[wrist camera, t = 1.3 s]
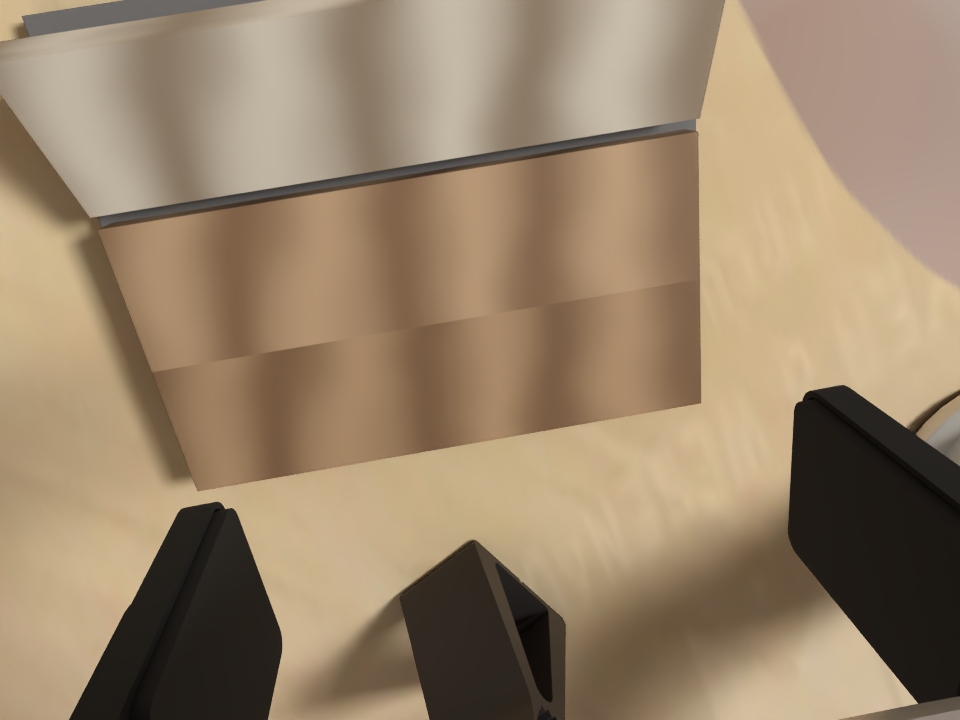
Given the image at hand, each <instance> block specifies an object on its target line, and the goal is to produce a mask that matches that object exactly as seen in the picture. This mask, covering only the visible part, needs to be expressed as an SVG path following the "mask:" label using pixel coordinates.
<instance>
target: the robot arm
mask: <svg viewBox="0 0 960 720" xmlns="http://www.w3.org/2000/svg"><path fill="white" fill-rule="evenodd" d="M788 535H789V540H790V542H791V545H792V547H793V549H794V551H795V552H796V554H797V555H798V556H799V558H800V559H801V560H802V561H803V562H804V564H805V565H806V566H807V567H808V569H809V570H810V571H811V572H812V574H813V575H814V576H815V577H816V578H817V580H818V581H819V582H820V583H821V585H822V586H823V587H824V588H825V590H826V591H827V592H828V593H829V594H830V596H831V597H832V598H833V599H834V601H835V602H836V603H837V604H838V605H839V607H840V608H841V609H842V610H843V612H844V613H845V614H846V615H847V617H848V618H849V619H850V620H851V621H852V623H853V624H854V625H855V626H856V628H857V629H858V630H859V631H860V633H861V634H862V635H863V636H864V637H865V639H866V640H867V641H868V642H869V644H870V645H871V646H872V647H873V648H874V650H875V651H876V652H877V653H878V655H879V656H880V657H881V658H882V660H883V661H884V662H885V663H886V664H887V666H888V667H889V668H890V669H891V671H892V672H893V673H894V674H895V676H896V677H897V678H898V679H899V680H900V682H901V683H902V684H903V685H904V687H905V688H906V689H907V690H908V692H909V693H910V694H911V695H912V696H913V698H914V699H915V700H916V701H917V703H918V704H915V705H910V706H905V707H900V708H895V709H890V710H885V711H880V712H875V713H870V714H865V715H860V716H855V717H850V718H845V719H840V720H960V395H959V396H957V397H956V398H955V399H953V400H952V401H950V402H949V403H947V404H946V405H944V406H943V407H942V408H940V409H939V410H938V411H937V412H936V413H935V414H934V415H933V416H932V417H931V418H930V419H928V420H927V421H926V422H925V423H924V425H923V426H922V427H921V428H920V430H919V431H918V432H917V433H916V434H914V433H912V432H911V431H910V430H908V429H907V428H905V427H904V426H903V425H901V424H900V423H898V422H897V421H896V420H894V419H893V418H891V417H890V416H888V415H887V414H886V413H884V412H883V411H881V410H880V409H879V408H877V407H876V406H874V405H873V404H872V403H870V402H869V401H867V400H866V399H865V398H863V397H862V396H860V395H859V394H857V393H856V392H855V391H853V390H852V389H850V388H849V387H847V386H845V385H839V386H834V387H829V388H823V389H818V390H813V391H808V392H807V393H806V394H805V396H804V398H803V401H801V402H798V403H797V404H796V406H795V410H794V425H793V444H792V463H791V482H790V502H789V521H788ZM281 654H282V636H281V631H280V628H279V625H278V622H277V620H276V617H275V614H274V612H273V609H272V606H271V604H270V601H269V598H268V595H267V593H266V590H265V587H264V585H263V582H262V579H261V577H260V574H259V571H258V569H257V566H256V563H255V561H254V558H253V555H252V552H251V550H250V547H249V544H248V542H247V539H246V536H245V534H244V531H243V528H242V526H241V523H240V520H239V518H238V515H237V513H236V511H235V510H234V509H232V508H230V509H225V508H224V506H223V505H222V504H221V503H219V502H213V503H208V504H203V505H197V506H192V507H187V508H183V509H181V510H180V511H179V512H178V514H177V516H176V518H175V520H174V522H173V524H172V526H171V528H170V530H169V532H168V534H167V536H166V537H165V539H164V541H163V543H162V545H161V547H160V549H159V551H158V553H157V555H156V557H155V559H154V561H153V563H152V565H151V567H150V569H149V571H148V573H147V574H146V576H145V578H144V580H143V582H142V584H141V586H140V588H139V590H138V592H137V594H136V596H135V598H134V600H133V602H132V604H131V605H130V606H129V607H128V609H127V610H126V611H125V613H124V615H123V617H122V619H121V621H120V622H119V624H118V626H117V628H116V630H115V632H114V634H113V636H112V638H111V640H110V642H109V644H108V646H107V648H106V650H105V651H104V653H103V655H102V657H101V659H100V661H99V663H98V665H97V667H96V669H95V671H94V673H93V675H92V677H91V678H90V680H89V682H88V684H87V686H86V688H85V690H84V692H83V694H82V696H81V698H80V700H79V702H78V704H77V706H76V707H75V709H74V711H73V713H72V715H71V717H70V719H69V720H268V716H269V711H270V706H271V701H272V697H273V692H274V687H275V683H276V678H277V673H278V668H279V664H280V659H281Z"/></svg>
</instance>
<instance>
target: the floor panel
mask: <svg viewBox="0 0 960 720" xmlns="http://www.w3.org/2000/svg"><path fill="white" fill-rule="evenodd" d="M259 1H265V0H123V1H117V2H110V3H104V4H97V5H91V6H84V7H78V8H71V9H65V10H58V11H52V12H45V13H39V14H33V15H26V16H22V18H23V21H24V24H25V26H26V29H27V32H28V34H29V37H34V36H40V35H46V34H53V33H59V32H66V31H72V30H79V29H85V28H91V27H98V26H104V25H111V24H117V23H124V22H130V21H136V20H143V19H149V18H156V17H162V16H169V15H175V14H181V13H188V12H194V11H201V10H207V9H214V8H220V7H226V6H233V5H239V4H246V3H252V2H259ZM98 218H99V221H100V224H101V226H102V228H101V229H99V230H98V233H99V235H100V238H101V241H102V243H103V246H104V249H105V251H106V254H107V256H108V259H109V262H110V264H111V267H112V269H113V272H114V275H115V277H116V280H117V282H118V285H119V288H120V290H121V293H122V295H123V298H124V301H125V303H126V306H127V308H128V311H129V314H130V316H131V319H132V322H133V324H134V327H135V329H136V332H137V335H138V337H139V340H140V342H141V345H142V348H143V350H144V353H145V355H146V358H147V361H148V363H149V366H150V368H151V371H152V374H153V376H154V379H155V381H156V384H157V387H158V389H159V392H160V395H161V397H162V400H163V402H164V405H165V408H166V410H167V413H168V415H169V418H170V421H171V423H172V426H173V428H174V431H175V434H176V436H177V439H178V441H179V444H180V447H181V449H182V452H183V454H184V457H185V460H186V462H187V465H188V468H189V470H190V473H191V475H192V478H193V481H194V483H195V486H196V488H197V491H202V490H208V489H214V488H220V487H225V486H231V485H237V484H242V483H248V482H254V481H260V480H265V479H271V478H277V477H282V476H288V475H294V474H300V473H305V472H311V471H317V470H322V469H328V468H334V467H340V466H345V465H351V464H357V463H362V462H368V461H374V460H380V459H385V458H391V457H397V456H402V455H408V454H414V453H420V452H425V451H431V450H437V449H442V448H448V447H454V446H459V445H465V444H471V443H477V442H482V441H488V440H494V439H499V438H505V437H511V436H517V435H522V434H528V433H534V432H539V431H545V430H551V429H557V428H562V427H568V426H574V425H579V424H585V423H591V422H597V421H602V420H608V419H614V418H619V417H625V416H631V415H637V414H642V413H648V412H654V411H659V410H665V409H671V408H677V407H682V406H688V405H694V404H699V403H701V348H700V258H699V168H698V132H697V131H696V119H693V120H686V121H680V122H674V123H668V124H662V125H656V126H650V127H644V128H637V129H631V130H625V131H619V132H613V133H607V134H601V135H595V136H588V137H582V138H576V139H570V140H564V141H558V142H552V143H546V144H539V145H533V146H527V147H521V148H515V149H509V150H503V151H497V152H490V153H484V154H478V155H472V156H466V157H460V158H454V159H448V160H441V161H435V162H429V163H423V164H417V165H411V166H405V167H399V168H392V169H386V170H380V171H374V172H368V173H362V174H356V175H350V176H343V177H337V178H331V179H325V180H319V181H313V182H307V183H301V184H294V185H288V186H282V187H276V188H270V189H264V190H258V191H252V192H245V193H239V194H233V195H227V196H221V197H215V198H209V199H203V200H196V201H190V202H184V203H178V204H172V205H166V206H160V207H154V208H147V209H141V210H135V211H129V212H123V213H117V214H111V215H105V216H98Z"/></svg>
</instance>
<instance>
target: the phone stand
mask: <svg viewBox="0 0 960 720" xmlns="http://www.w3.org/2000/svg"><path fill="white" fill-rule="evenodd" d="M400 602H401V606H402V610H403V614H404V618H405V622H406V626H407V630H408V634H409V638H410V642H411V646H412V650H413V654H414V658H415V662H416V666H417V670H418V674H419V678H420V683H421V687H422V691H423V695H424V699H425V703H426V707H427V711H428V715H429V719H430V720H565V636H566V624H565V622H564V620H563V618H562V617H561V616H560V615H559V614H557V613H556V612H555V611H554V610H553V609H552V608H551V607H550V606H549V605H547V604H546V603H545V602H544V601H543V600H542V599H541V598H540V597H539V596H537V595H536V594H535V593H534V592H533V591H532V590H531V589H530V588H529V587H527V586H526V585H525V584H524V583H523V582H522V583H521V582H520V580H519V578H518V577H516V576H515V575H514V574H513V573H512V572H511V571H510V570H509V569H508V568H506V567H505V566H504V565H503V564H502V563H501V562H500V561H499V560H498V559H496V558H495V557H494V556H493V555H492V554H491V553H490V552H489V551H488V550H486V549H485V548H484V547H483V546H482V545H481V544H480V543H479V542H478V541H476V540H475V541H473V542H472V543H471V544H469V545H468V546H467V547H465V548H464V549H463V550H461V551H460V552H459V553H457V554H456V555H455V556H453V557H452V558H451V559H449V560H448V561H447V562H445V563H444V564H443V565H441V566H440V567H439V568H437V569H436V570H435V571H433V572H432V573H431V574H429V575H428V576H427V577H425V578H424V579H423V580H422V581H420V582H419V583H418V584H416V585H415V586H414V587H412V588H411V589H410V590H408V591H407V592H406V593H404V594H403V595H402V596H400Z"/></svg>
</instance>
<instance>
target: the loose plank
mask: <svg viewBox="0 0 960 720" xmlns="http://www.w3.org/2000/svg"><path fill="white" fill-rule="evenodd" d="M724 3H725V0H265V1H259V2H252V3H246V4H239V5H233V6H226V7H220V8H214V9H207V10H201V11H194V12H188V13H181V14H175V15H169V16H162V17H156V18H149V19H143V20H136V21H130V22H124V23H117V24H111V25H104V26H98V27H91V28H85V29H79V30H72V31H66V32H59V33H53V34H46V35H40V36H34V37H27V38H21V39H14V40H8V41H1V42H0V95H1V96H2V97H3V99H4V100H5V102H6V103H7V104H8V106H9V107H10V108H11V110H12V111H13V113H14V114H15V115H16V117H17V118H18V119H19V121H20V122H21V124H22V125H23V126H24V128H25V129H26V130H27V132H28V133H29V135H30V136H31V137H32V139H33V140H34V141H35V143H36V144H37V145H38V147H39V148H40V150H41V151H42V152H43V154H44V155H45V156H46V158H47V159H48V161H49V162H50V163H51V165H52V166H53V167H54V169H55V170H56V172H57V173H58V174H59V176H60V177H61V178H62V180H63V181H64V183H65V184H66V185H67V187H68V188H69V189H70V191H71V192H72V193H73V195H74V196H75V198H76V199H77V200H78V202H79V203H80V204H81V206H82V207H83V209H84V210H85V211H86V213H87V214H88V215H89V217H90V218H92V217H98V216H105V215H111V214H117V213H123V212H129V211H135V210H141V209H147V208H154V207H160V206H166V205H172V204H178V203H184V202H190V201H196V200H203V199H209V198H215V197H221V196H227V195H233V194H239V193H245V192H252V191H258V190H264V189H270V188H276V187H282V186H288V185H294V184H301V183H307V182H313V181H319V180H325V179H331V178H337V177H343V176H350V175H356V174H362V173H368V172H374V171H380V170H386V169H392V168H399V167H405V166H411V165H417V164H423V163H429V162H435V161H441V160H448V159H454V158H460V157H466V156H472V155H478V154H484V153H490V152H497V151H503V150H509V149H515V148H521V147H527V146H533V145H539V144H546V143H552V142H558V141H564V140H570V139H576V138H582V137H588V136H595V135H601V134H607V133H613V132H619V131H625V130H631V129H637V128H644V127H650V126H656V125H662V124H668V123H674V122H680V121H686V120H693V119H699V118H700V115H701V110H702V106H703V101H704V96H705V92H706V87H707V82H708V78H709V73H710V68H711V64H712V59H713V54H714V50H715V45H716V40H717V36H718V31H719V26H720V22H721V17H722V13H723V8H724Z"/></svg>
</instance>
